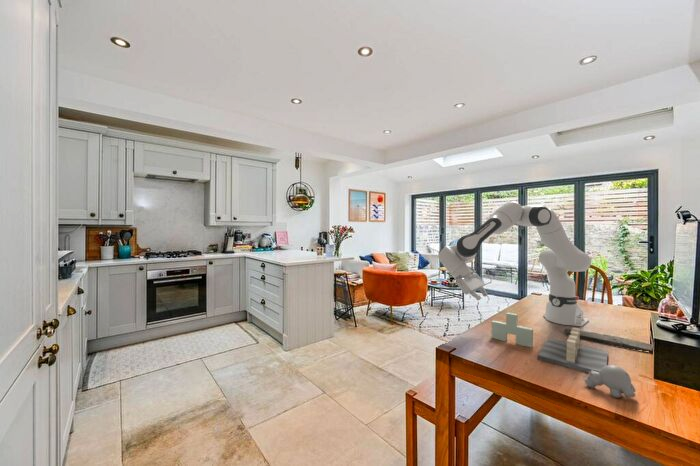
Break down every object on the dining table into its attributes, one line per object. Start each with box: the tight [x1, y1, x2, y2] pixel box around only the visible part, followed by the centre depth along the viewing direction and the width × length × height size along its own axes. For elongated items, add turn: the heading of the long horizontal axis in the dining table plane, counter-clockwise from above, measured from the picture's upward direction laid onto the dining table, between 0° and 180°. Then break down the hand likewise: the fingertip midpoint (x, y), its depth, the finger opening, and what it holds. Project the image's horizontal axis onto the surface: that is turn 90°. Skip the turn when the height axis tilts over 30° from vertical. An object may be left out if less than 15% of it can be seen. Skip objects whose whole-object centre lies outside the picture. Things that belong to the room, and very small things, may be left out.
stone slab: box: [563, 328, 653, 352], centre depth 132 cm, size 10×3×30 cm
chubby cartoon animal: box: [582, 364, 636, 399], centre depth 91 cm, size 7×12×8 cm, turn 41°
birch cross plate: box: [537, 327, 609, 374], centre depth 115 cm, size 24×20×9 cm
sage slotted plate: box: [490, 311, 534, 349], centre depth 130 cm, size 16×2×12 cm, turn 48°
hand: (483, 297), depth 138 cm, fingers open, 8 cm apart
